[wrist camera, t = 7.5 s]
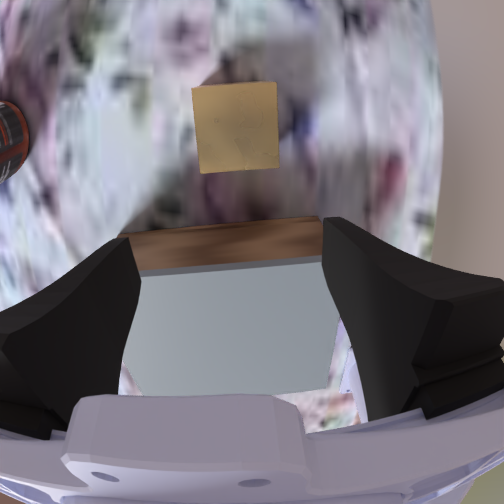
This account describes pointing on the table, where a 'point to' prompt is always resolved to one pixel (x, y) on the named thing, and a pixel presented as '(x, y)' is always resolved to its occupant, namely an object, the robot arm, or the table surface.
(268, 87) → the block
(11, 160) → the supplement bottle
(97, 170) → the table surface
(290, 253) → the box
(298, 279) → the lid
